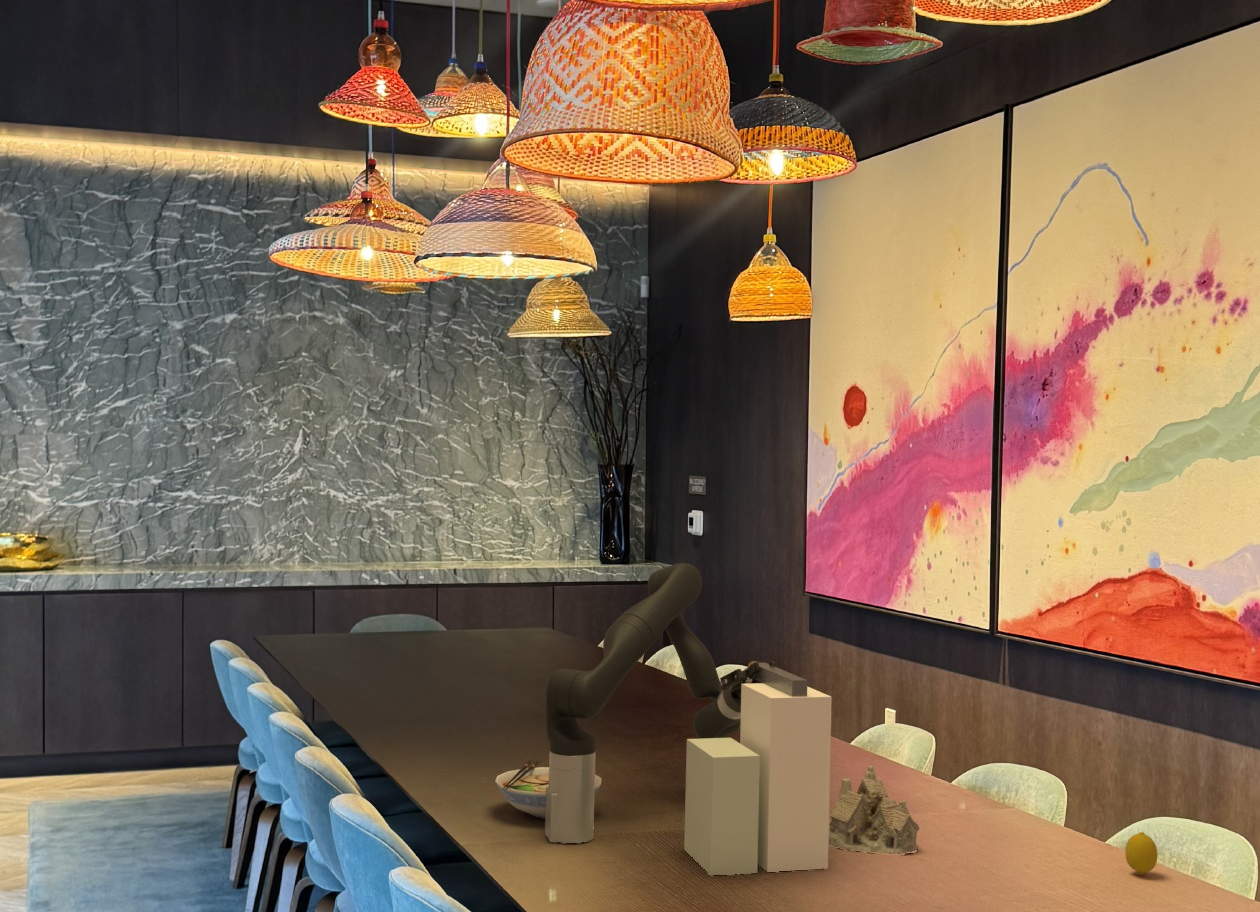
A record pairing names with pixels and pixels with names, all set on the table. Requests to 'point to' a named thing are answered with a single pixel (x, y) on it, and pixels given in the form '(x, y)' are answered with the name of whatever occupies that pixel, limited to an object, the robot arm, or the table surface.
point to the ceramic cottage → (871, 819)
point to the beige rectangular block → (722, 806)
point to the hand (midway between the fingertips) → (765, 666)
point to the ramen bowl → (529, 788)
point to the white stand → (790, 774)
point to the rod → (781, 680)
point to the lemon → (1141, 853)
